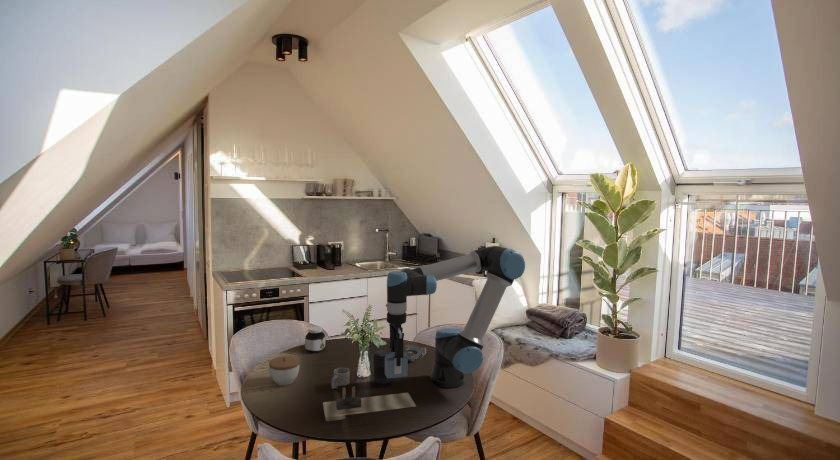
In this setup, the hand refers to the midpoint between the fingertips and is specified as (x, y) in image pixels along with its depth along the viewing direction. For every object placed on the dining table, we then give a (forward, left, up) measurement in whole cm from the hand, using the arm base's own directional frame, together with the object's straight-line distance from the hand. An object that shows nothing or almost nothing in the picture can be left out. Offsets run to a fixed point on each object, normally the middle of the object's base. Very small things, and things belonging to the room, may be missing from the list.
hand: (396, 370), depth 175 cm
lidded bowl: (+41, -32, -14) cm, 54 cm away
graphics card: (-19, -48, -15) cm, 53 cm away
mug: (+19, -21, -14) cm, 32 cm away
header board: (+10, 0, -14) cm, 17 cm away
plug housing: (0, 0, -2) cm, 2 cm away
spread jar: (+26, -69, -14) cm, 75 cm away
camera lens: (+1, -17, -14) cm, 22 cm away
